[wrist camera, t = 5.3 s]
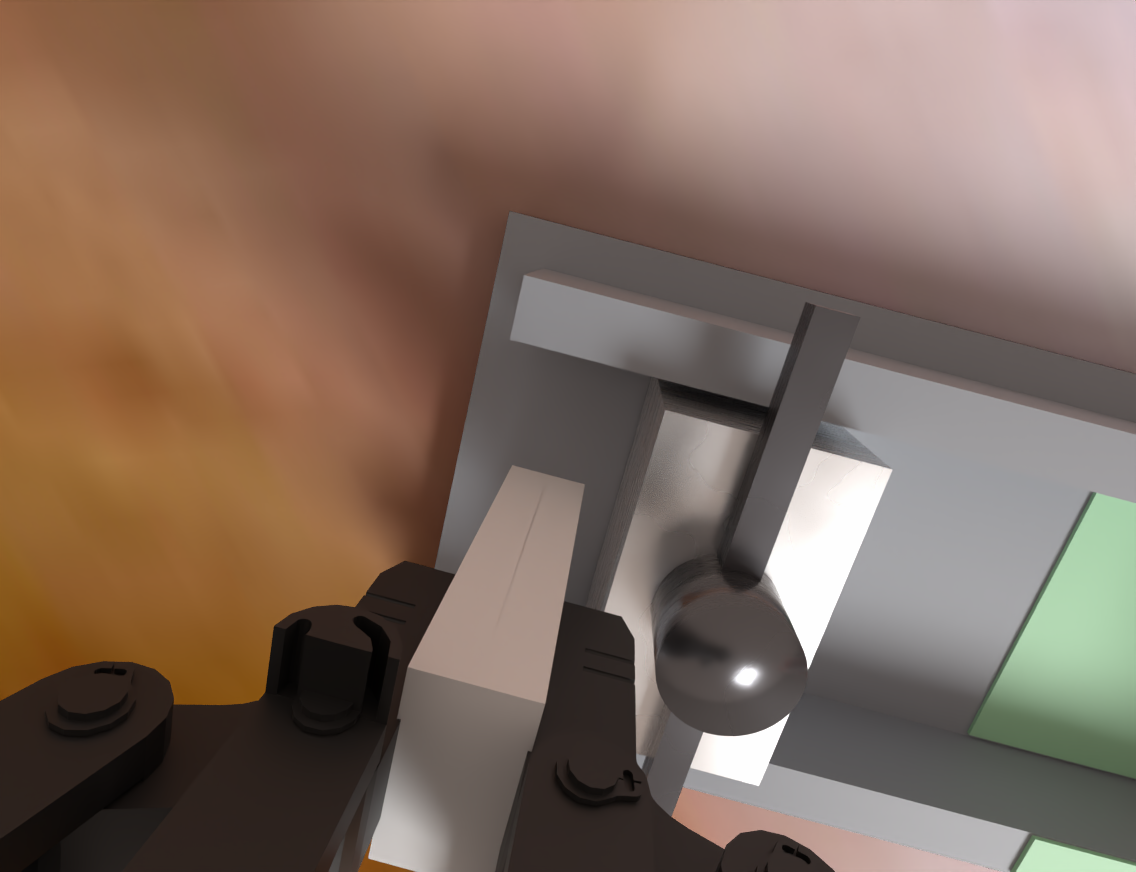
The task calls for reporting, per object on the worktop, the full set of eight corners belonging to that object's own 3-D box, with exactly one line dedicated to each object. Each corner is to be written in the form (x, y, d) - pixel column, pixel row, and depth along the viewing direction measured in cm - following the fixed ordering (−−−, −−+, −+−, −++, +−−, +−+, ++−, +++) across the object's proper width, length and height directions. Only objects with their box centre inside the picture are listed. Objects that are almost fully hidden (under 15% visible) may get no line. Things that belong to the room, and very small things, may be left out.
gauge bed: (427, 637, 19) (317, 859, 12) (517, 213, 16) (435, 192, 9) (1301, 868, 19) (1684, 1223, 12) (1590, 492, 16) (2357, 693, 9)
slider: (558, 696, 18) (528, 902, 12) (683, 266, 14) (721, 282, 9) (702, 735, 18) (737, 958, 12) (861, 312, 14) (1010, 357, 9)
